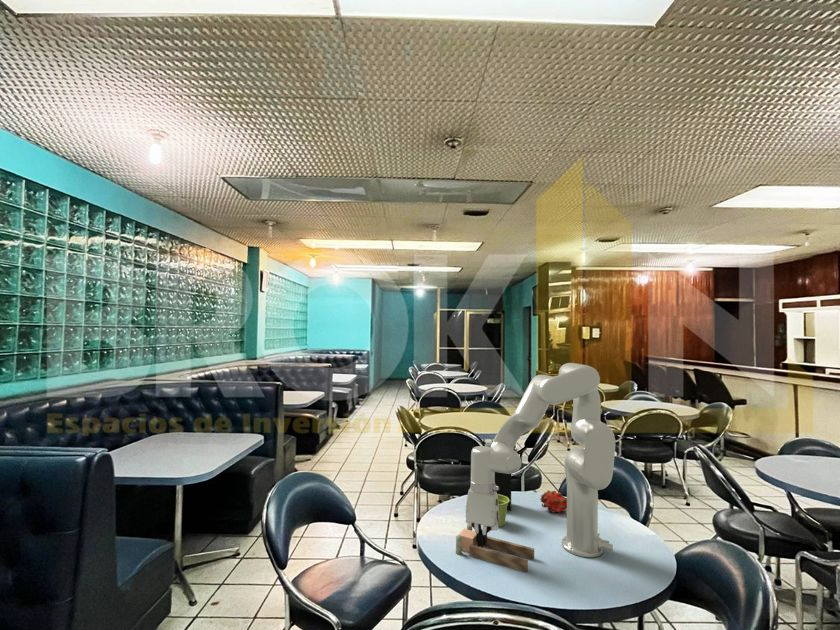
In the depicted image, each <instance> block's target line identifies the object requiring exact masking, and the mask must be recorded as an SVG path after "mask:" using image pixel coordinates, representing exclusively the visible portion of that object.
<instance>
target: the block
mask: <svg viewBox="0 0 840 630" xmlns="http://www.w3.org/2000/svg"><path fill="white" fill-rule="evenodd" d="M458 535H460V536H462V551H464V552H467V553H469V546H470V545H475V546H478V542H476V532H475V530H472V531H471V530H467V528H463V529H462V530H461V531H460V532H459V534H458Z"/></svg>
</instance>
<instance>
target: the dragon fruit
mask: <svg viewBox="0 0 840 630" xmlns="http://www.w3.org/2000/svg"><path fill="white" fill-rule="evenodd" d="M539 500H540V502H541V507H542V508H543V509H544V508H545V509H546V508H547V511H549V512H550V511H551V513H553V514H555V513H556V512H557V513H560V514H565V513H566V511H567V497H565V496H563V494H562V493H561V492H560V491H558V492H557V491H556V490H552V491H550V490H546V491H545V492H544V493H543V494H541V496H540V499H539Z"/></svg>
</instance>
